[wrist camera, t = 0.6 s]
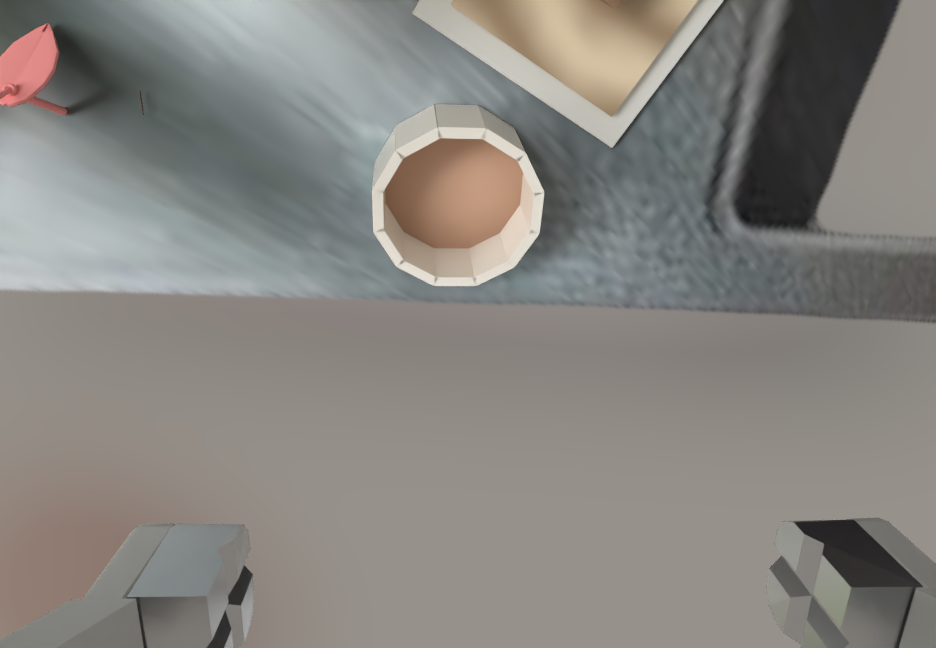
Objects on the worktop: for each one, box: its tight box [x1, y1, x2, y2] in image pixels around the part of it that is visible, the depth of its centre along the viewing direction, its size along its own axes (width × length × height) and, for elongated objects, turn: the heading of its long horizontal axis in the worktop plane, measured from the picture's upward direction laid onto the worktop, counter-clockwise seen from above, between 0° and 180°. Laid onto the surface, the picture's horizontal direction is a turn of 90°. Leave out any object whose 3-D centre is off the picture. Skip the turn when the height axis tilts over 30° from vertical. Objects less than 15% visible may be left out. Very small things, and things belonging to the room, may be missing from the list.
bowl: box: [372, 104, 544, 286], centre depth 52 cm, size 13×13×6 cm
